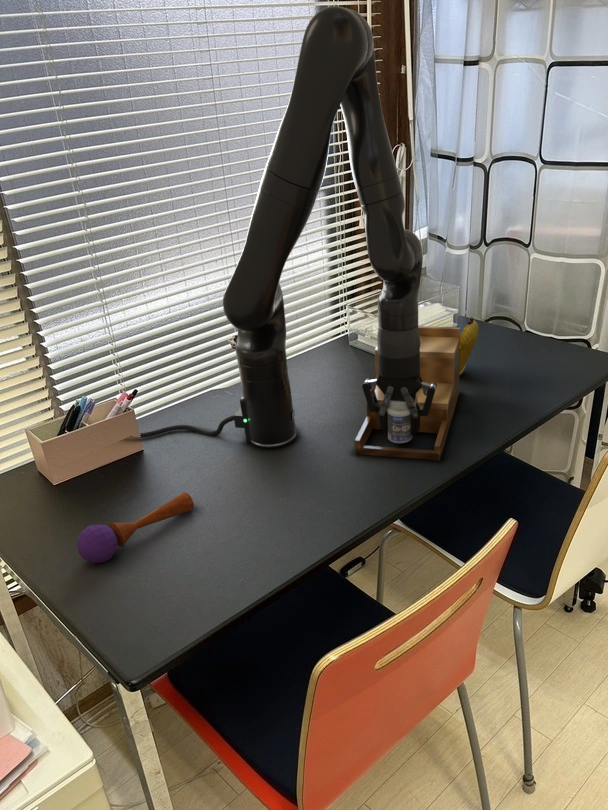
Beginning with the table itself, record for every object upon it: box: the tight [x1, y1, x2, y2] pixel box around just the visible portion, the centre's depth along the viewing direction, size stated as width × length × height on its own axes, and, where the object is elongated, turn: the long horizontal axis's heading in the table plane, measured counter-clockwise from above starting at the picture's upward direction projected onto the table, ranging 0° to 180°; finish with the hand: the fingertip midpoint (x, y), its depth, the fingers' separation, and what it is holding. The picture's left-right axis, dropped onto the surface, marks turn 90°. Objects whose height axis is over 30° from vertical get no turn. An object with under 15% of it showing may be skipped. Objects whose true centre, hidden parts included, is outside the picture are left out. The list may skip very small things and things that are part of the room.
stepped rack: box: [354, 325, 461, 461], centre depth 139 cm, size 16×28×15 cm, turn 165°
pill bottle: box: [387, 400, 413, 444], centre depth 133 cm, size 5×5×8 cm
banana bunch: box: [459, 316, 480, 377], centre depth 156 cm, size 12×8×15 cm
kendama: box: [76, 491, 195, 564], centre depth 115 cm, size 6×6×20 cm
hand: (400, 431), depth 135 cm, fingers closed on pill bottle, 4 cm apart
